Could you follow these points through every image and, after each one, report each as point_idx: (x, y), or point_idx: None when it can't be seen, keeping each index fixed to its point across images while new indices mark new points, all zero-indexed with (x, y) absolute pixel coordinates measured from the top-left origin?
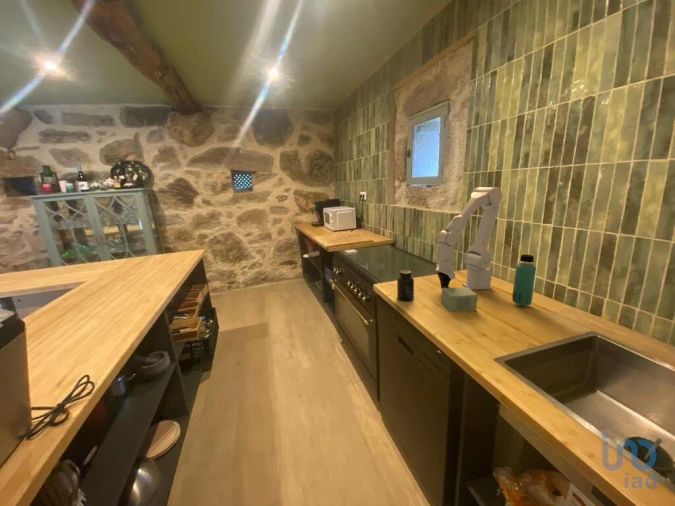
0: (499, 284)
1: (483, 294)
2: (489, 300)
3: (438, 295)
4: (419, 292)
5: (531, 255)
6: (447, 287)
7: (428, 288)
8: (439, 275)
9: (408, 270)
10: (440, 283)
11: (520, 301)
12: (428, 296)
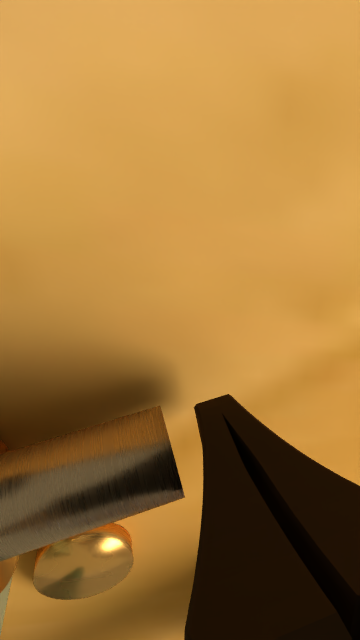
0: None
1: (169, 594)
2: (67, 625)
3: (120, 333)
4: (213, 82)
5: None
6: (113, 501)
7: (329, 243)
8: (305, 606)
9: None
10: (263, 427)
11: None
12: (68, 205)
